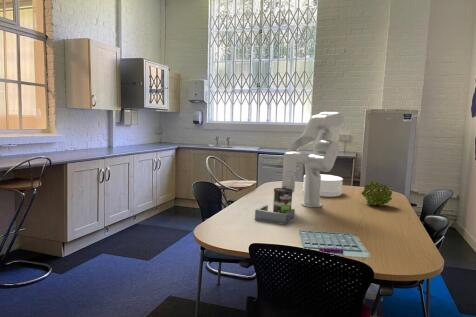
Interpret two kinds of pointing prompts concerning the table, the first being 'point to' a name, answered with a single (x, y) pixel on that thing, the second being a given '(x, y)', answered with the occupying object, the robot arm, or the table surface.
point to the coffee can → (282, 200)
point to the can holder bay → (273, 215)
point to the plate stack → (329, 185)
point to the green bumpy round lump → (377, 194)
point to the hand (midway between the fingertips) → (287, 205)
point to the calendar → (334, 243)
